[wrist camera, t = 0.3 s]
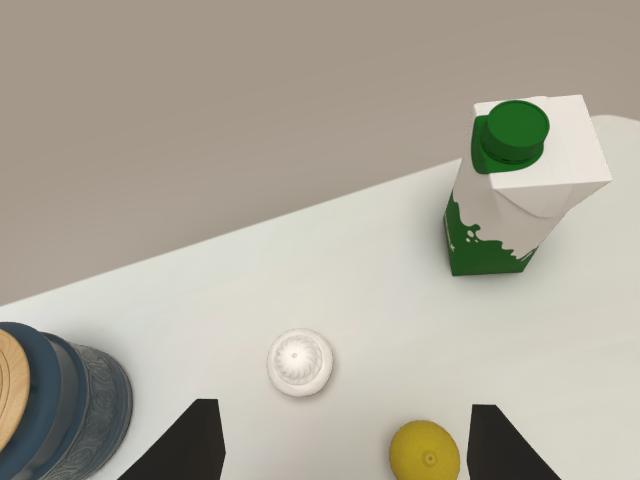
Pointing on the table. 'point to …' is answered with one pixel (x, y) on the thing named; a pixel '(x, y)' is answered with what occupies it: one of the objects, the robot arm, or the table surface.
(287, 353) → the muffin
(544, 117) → the milk carton
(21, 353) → the canister
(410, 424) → the lemon
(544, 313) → the table surface
